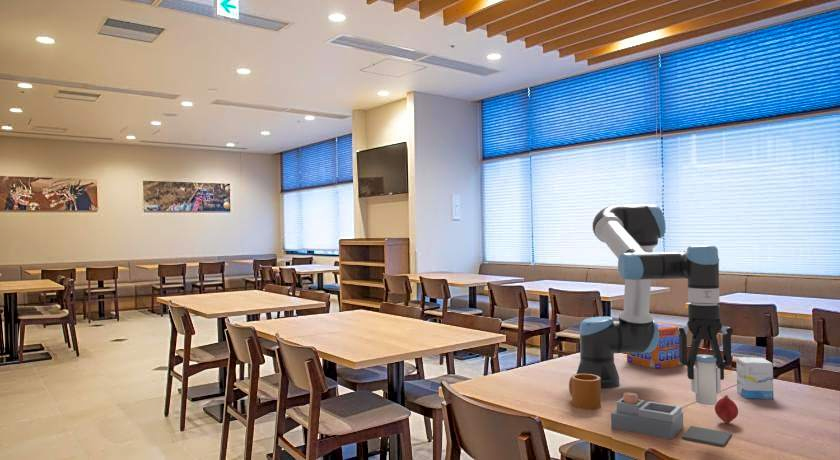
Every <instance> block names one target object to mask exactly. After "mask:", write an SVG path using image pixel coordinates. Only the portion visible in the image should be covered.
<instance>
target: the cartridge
mask: <svg viewBox="0 0 840 460" xmlns="http://www.w3.org/2000/svg"><path fill="white" fill-rule="evenodd" d="M716 362H717V357H715V356H714V355H711V354H697V357H696V361H695V365H694V366H695V367H696V368H697V376H698V393H695V402H696V403H698V404H701V405H708V406H713V405H716V404H717V402H718V398H717V397H718V393H717V385H716V366H717V364H716Z"/></svg>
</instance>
